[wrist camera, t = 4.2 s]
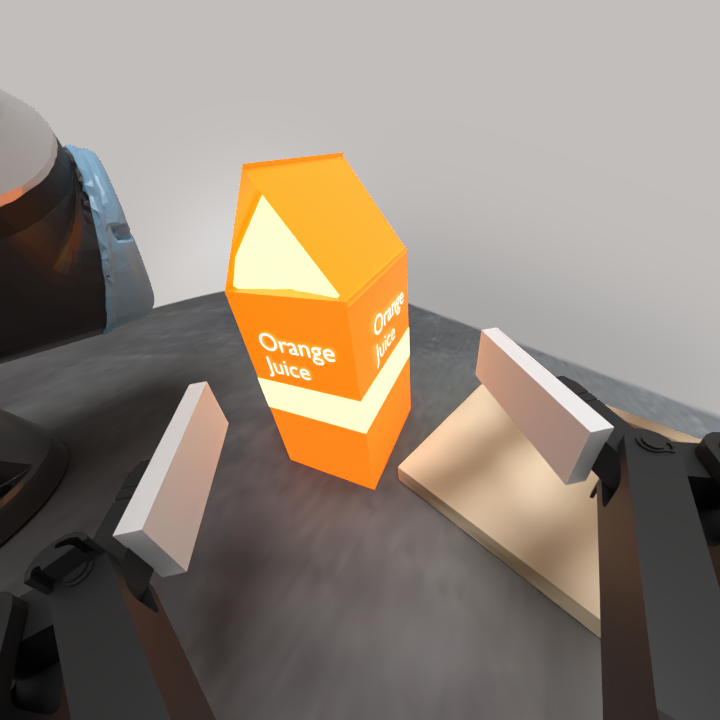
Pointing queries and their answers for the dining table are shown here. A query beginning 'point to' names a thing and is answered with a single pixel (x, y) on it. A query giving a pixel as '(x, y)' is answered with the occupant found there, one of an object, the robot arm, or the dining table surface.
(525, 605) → the dining table surface
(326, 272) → the orange juice
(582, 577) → the serving board
